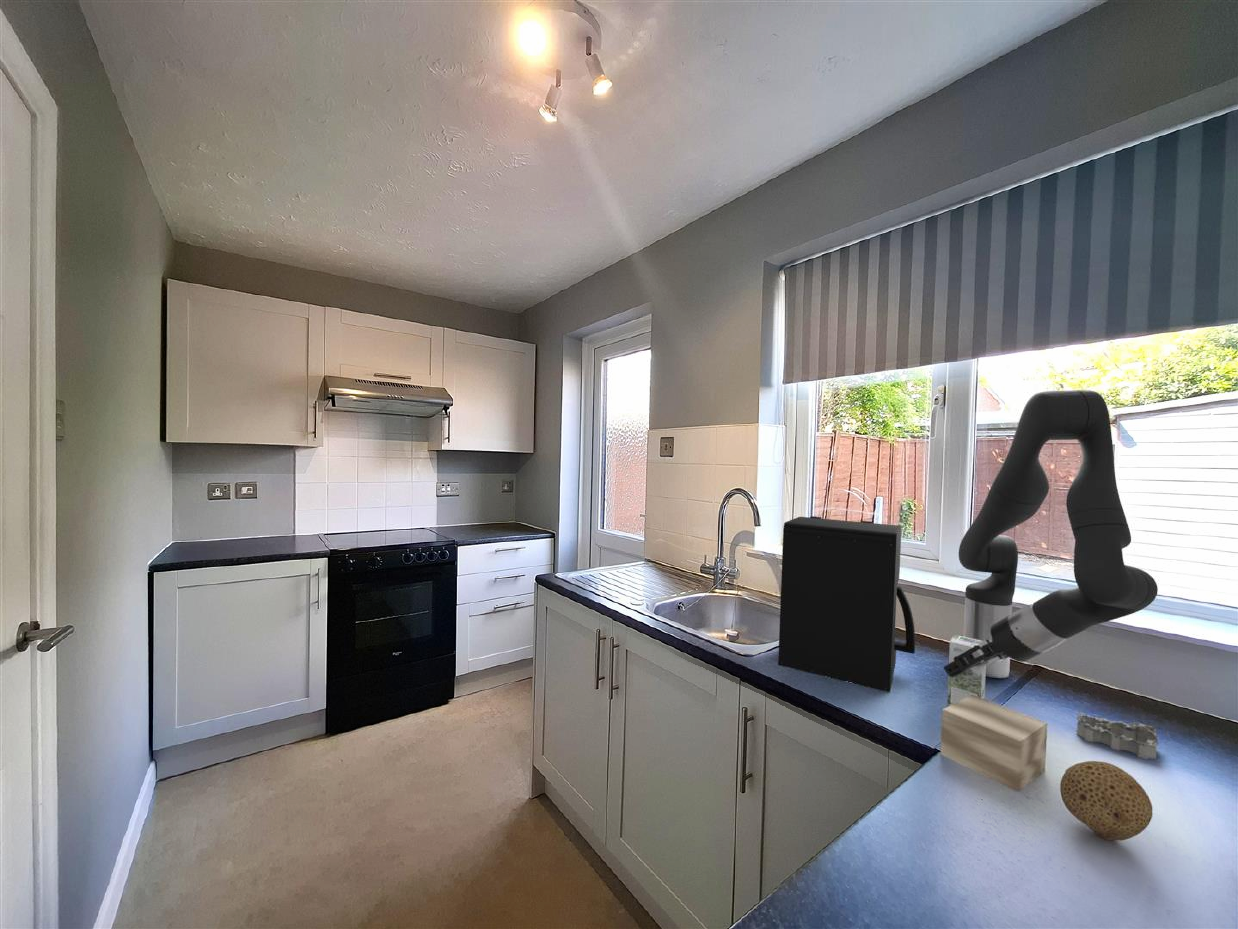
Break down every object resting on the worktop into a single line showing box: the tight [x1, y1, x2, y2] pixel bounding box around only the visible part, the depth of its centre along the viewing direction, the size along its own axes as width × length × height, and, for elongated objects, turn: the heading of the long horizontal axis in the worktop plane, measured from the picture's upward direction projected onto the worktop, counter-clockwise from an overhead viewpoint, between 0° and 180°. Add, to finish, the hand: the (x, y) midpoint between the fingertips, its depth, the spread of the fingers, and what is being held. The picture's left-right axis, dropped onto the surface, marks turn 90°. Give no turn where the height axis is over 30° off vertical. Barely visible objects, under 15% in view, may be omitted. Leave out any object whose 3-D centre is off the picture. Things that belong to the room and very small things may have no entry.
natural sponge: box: [1059, 760, 1154, 842], centre depth 68 cm, size 9×9×10 cm
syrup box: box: [946, 634, 987, 707], centre depth 101 cm, size 6×6×14 cm
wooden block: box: [940, 695, 1048, 793], centre depth 84 cm, size 11×11×8 cm
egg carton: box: [1076, 711, 1159, 760], centre depth 92 cm, size 11×8×4 cm
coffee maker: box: [777, 515, 916, 694], centre depth 121 cm, size 28×20×35 cm
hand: (959, 669), depth 102 cm, fingers open, 7 cm apart
